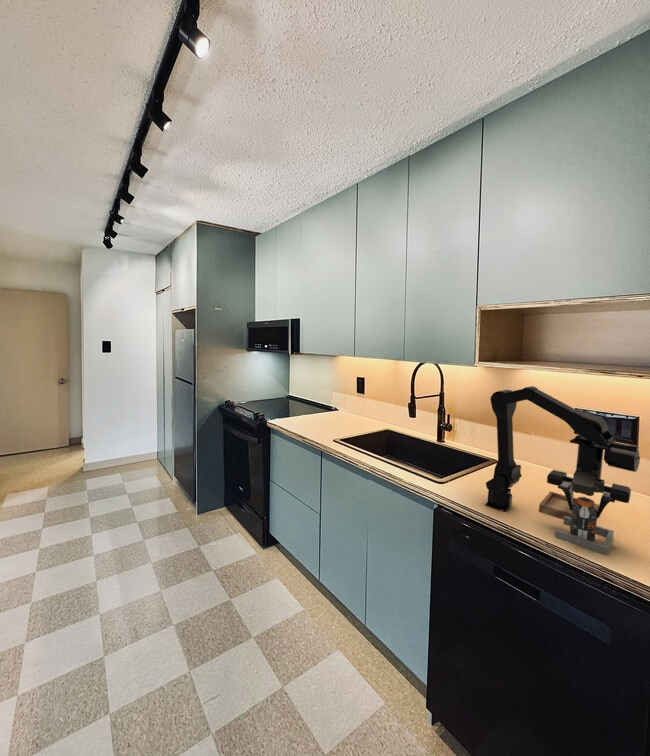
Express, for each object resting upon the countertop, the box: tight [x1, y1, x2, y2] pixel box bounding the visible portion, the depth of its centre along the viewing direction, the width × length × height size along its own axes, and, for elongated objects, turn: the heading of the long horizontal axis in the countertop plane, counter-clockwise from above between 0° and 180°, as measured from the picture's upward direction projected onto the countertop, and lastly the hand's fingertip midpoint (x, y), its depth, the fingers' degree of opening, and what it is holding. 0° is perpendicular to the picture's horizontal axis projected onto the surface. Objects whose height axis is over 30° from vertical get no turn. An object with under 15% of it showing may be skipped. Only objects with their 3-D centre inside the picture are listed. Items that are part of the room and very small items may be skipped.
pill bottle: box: [569, 496, 598, 542], centre depth 103 cm, size 6×6×11 cm
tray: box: [538, 491, 600, 520], centre depth 118 cm, size 14×14×2 cm
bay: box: [554, 516, 615, 556], centre depth 103 cm, size 12×12×2 cm
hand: (584, 513), depth 103 cm, fingers closed on pill bottle, 6 cm apart
